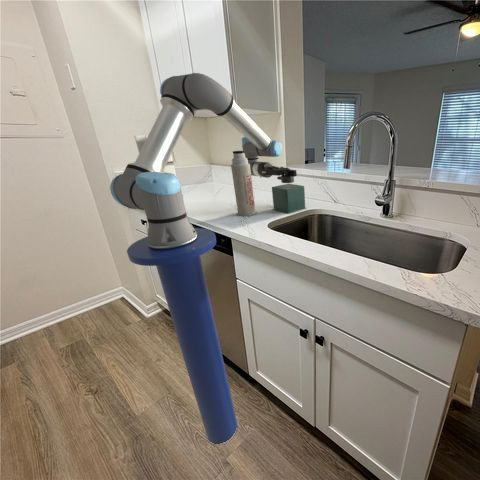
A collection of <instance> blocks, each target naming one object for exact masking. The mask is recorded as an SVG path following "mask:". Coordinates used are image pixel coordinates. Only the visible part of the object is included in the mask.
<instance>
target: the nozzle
mask: <svg viewBox="0 0 480 480" xmlns="http://www.w3.org/2000/svg"><path fill="white" fill-rule="evenodd" d="M276 179H277V180H280V182H281V184H294V182H295V177H293V176H286V175H285V174H284V176H282V175H280V176H277V178H276Z"/></svg>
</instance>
